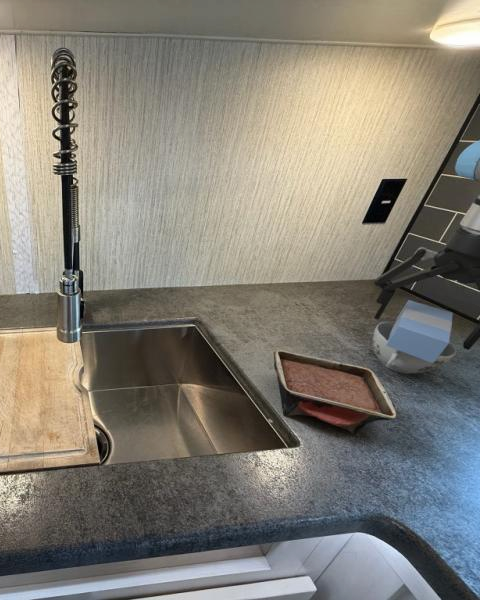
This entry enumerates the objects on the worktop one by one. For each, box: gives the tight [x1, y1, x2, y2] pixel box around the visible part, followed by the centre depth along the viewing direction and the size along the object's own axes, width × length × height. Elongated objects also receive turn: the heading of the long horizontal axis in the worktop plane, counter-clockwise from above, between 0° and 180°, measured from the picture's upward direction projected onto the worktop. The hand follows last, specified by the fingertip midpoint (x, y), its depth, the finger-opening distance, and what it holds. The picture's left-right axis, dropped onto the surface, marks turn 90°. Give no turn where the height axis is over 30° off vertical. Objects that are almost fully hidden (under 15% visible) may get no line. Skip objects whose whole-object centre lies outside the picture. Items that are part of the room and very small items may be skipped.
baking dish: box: [273, 349, 398, 436], centre depth 59 cm, size 14×18×10 cm
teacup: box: [372, 321, 457, 375], centre depth 68 cm, size 15×12×8 cm
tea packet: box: [386, 299, 454, 363], centre depth 65 cm, size 15×7×5 cm, turn 132°
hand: (418, 330), depth 65 cm, fingers open, 13 cm apart
